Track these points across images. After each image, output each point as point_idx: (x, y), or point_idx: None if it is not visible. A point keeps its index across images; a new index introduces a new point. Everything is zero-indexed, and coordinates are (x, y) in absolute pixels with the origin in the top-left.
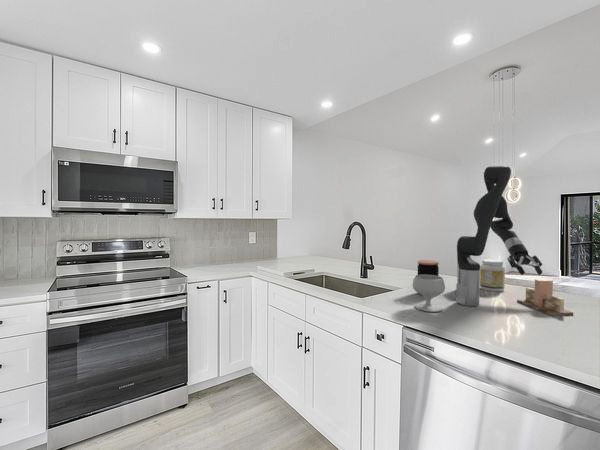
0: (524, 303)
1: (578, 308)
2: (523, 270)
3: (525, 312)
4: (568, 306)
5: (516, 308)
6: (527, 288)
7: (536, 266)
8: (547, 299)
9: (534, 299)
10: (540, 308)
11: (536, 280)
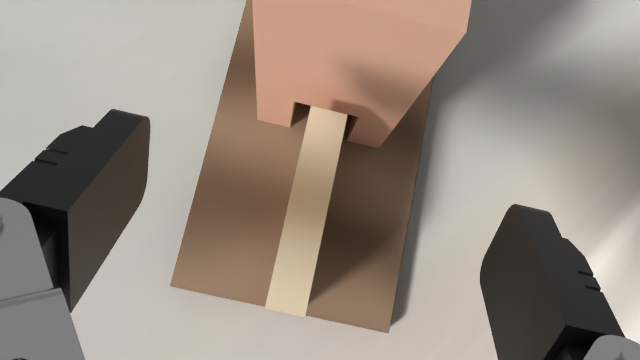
0: (404, 228)
1: (10, 26)
2: (539, 233)
3: (572, 68)
4: (29, 91)
5: (559, 167)
6: (309, 287)
7: (48, 250)
8: None
9: (389, 132)
10: None
11: (470, 4)
